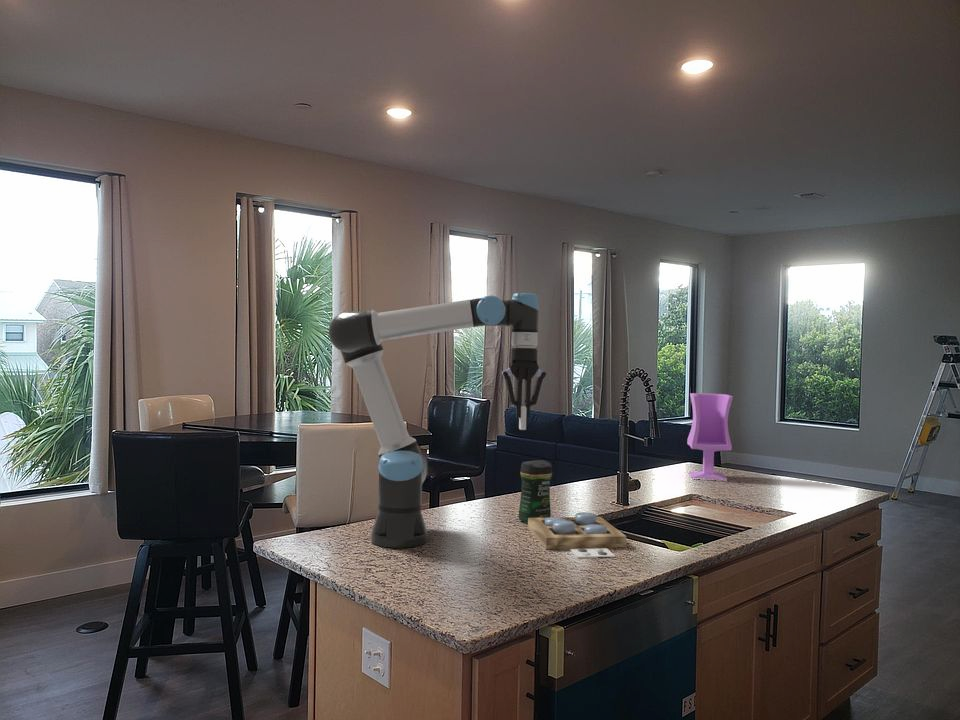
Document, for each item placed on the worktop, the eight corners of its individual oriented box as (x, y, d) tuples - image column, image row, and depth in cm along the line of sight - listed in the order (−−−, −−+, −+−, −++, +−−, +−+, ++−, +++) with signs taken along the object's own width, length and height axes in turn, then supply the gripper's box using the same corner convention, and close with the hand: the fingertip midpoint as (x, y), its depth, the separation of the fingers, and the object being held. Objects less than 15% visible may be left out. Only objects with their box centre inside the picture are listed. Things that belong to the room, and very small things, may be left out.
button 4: (588, 539, 194) (588, 530, 194) (581, 533, 200) (581, 524, 200) (609, 538, 195) (609, 529, 195) (602, 533, 201) (602, 524, 201)
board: (546, 549, 188) (546, 537, 188) (527, 528, 210) (528, 517, 210) (626, 547, 192) (626, 536, 192) (600, 526, 213) (600, 516, 213)
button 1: (547, 531, 201) (547, 522, 201) (542, 525, 207) (542, 517, 207) (568, 530, 202) (568, 522, 202) (562, 525, 208) (562, 516, 208)
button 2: (555, 535, 192) (556, 526, 192) (550, 529, 198) (550, 520, 198) (577, 534, 193) (577, 525, 193) (571, 529, 199) (571, 520, 199)
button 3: (578, 526, 203) (578, 517, 203) (572, 521, 209) (572, 512, 208) (599, 525, 204) (599, 517, 203) (592, 520, 209) (592, 512, 209)
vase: (690, 480, 294) (693, 395, 294) (686, 473, 310) (688, 392, 309) (730, 482, 292) (733, 396, 291) (724, 475, 307) (726, 394, 306)
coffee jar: (531, 526, 213) (533, 463, 212) (514, 520, 219) (515, 460, 219) (555, 521, 218) (557, 461, 218) (538, 516, 225) (539, 457, 224)
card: (577, 558, 181) (577, 556, 181) (569, 550, 188) (569, 548, 188) (615, 557, 182) (615, 555, 182) (606, 549, 189) (606, 547, 189)
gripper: (504, 346, 201) (502, 430, 201) (549, 347, 203) (547, 430, 203) (499, 346, 208) (497, 427, 209) (543, 347, 210) (541, 427, 211)
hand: (522, 429), depth 206 cm, fingers closed
